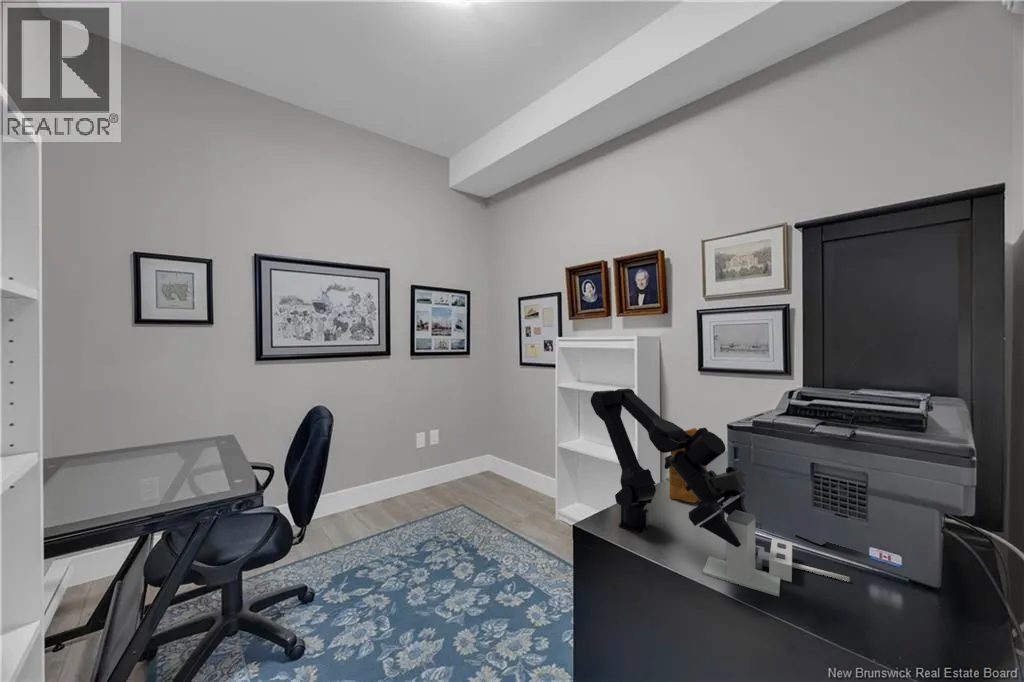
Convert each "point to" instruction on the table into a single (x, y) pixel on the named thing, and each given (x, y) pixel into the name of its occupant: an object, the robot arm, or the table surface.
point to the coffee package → (680, 480)
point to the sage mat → (757, 581)
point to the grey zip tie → (785, 561)
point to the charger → (744, 555)
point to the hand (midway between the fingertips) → (746, 538)
